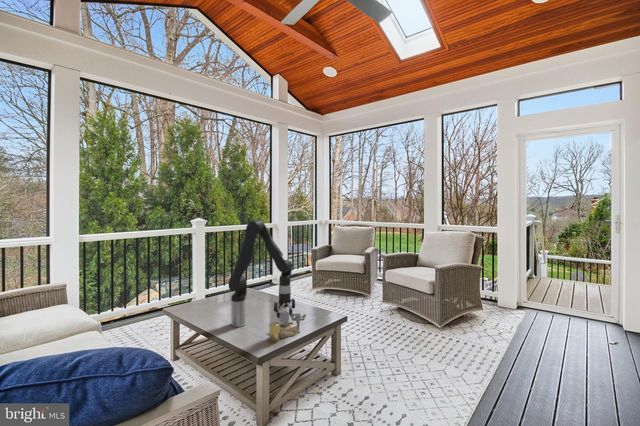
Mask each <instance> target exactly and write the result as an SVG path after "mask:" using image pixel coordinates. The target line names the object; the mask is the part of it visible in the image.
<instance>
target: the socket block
mask: <svg viewBox="0 0 640 426" xmlns="http://www.w3.org/2000/svg"><path fill="white" fill-rule="evenodd" d="M278 323H280V321H279V322H278ZM297 334H298V330H297V324H295V323H294V322H293V321H290V320H289V326H287V327H281V326H280V340H281V339H284V338H288V337H290V336H291V337H292V336H294V335H295V336H296V335H297Z"/></svg>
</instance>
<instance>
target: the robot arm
mask: <svg viewBox="0 0 640 426" xmlns="http://www.w3.org/2000/svg"><path fill="white" fill-rule="evenodd" d="M257 235H259V236H260V238H261V239H262V241H263V242H264V245H265V249H266V252H267V253H268V254H269V256H270V257H271V259H272V260H273V262H274V265H275V266H276V268H277V269H278V272H280V273H281V274H280V276H279V279H278V281H279V282H278V283H279V284H278V301H274V302H273V312H275V313H276V318H277V319H280V312H281V310H283V309H285V308H288V313H289V317H290V316H291V315H292V314H293V310H294V309H295V308H296V299H294V298H293V297H292V296H291V295H292V293H291V291H292V289H291V276H292V272H293V271H292V270H293V263H292V262H291V260H290V259H284V257H283V252H282V251H281V249H280V247H278V245H277V244H276V242H275V241H274V239H273V238H272V235H271V234H270V232H269V230H268V229H267V226H266V224H265V223H264V222H263V220H261V219H253V220H251V221H249V222H248V223H247V225H246V228H245V234H244V236H243V237H244V238H243V240H242V244H241V246H240V247H241V248H240V249H239V254H238V257H237V260H236V262H235V263H236V264H235V266H234V269H233V271H232V274H231V275H230V277H229V280H228V289H229V290H230V291H231V292H234V293H233V294H232V295H231V299H230V300H231V301H230V302H231V304H230V305H231V306H230V307H231V310H230V311H231V315H230V316H231V319H230V320H231V327H233V328H240V327H244V326H245V325H246V297H247V291H248V290H247V288H248V285H247V284H248V282H247V279H246V277H245V276H244V275H243V274H244V273H245V271H246V270H247V269H248V268H249V267H250V265H251V263H252V261H253V259H254V256H255V241H256V238H257ZM291 297H292V298H291Z"/></svg>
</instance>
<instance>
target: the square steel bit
mask: <svg viewBox="0 0 640 426" xmlns="http://www.w3.org/2000/svg"><path fill="white" fill-rule="evenodd" d="M279 320H280V321H279V322H280V326H281V327H287V326H289V321H290V315H289V311H280V318H279Z"/></svg>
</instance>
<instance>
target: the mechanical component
mask: <svg viewBox="0 0 640 426" xmlns="http://www.w3.org/2000/svg"><path fill="white" fill-rule="evenodd" d="M289 318H291V322H296V326H297V331H298V330H300V323H301V321H305V319H306V318H307V314H305V313H303V315H301V313H292V315H291V316H290V315H289Z"/></svg>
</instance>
